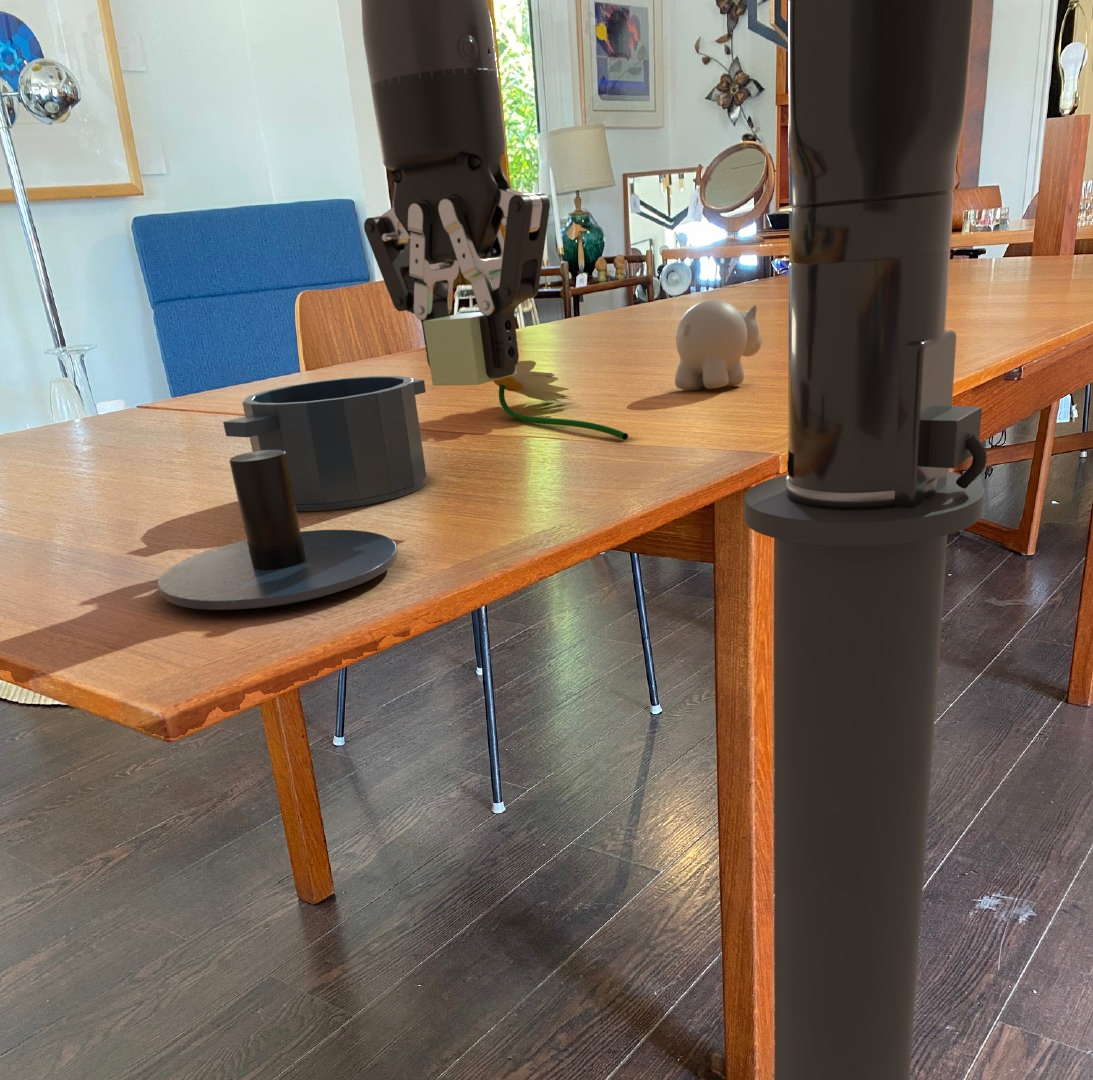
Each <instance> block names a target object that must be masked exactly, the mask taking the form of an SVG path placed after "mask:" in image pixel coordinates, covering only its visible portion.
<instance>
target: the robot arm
mask: <svg viewBox="0 0 1093 1080" xmlns="http://www.w3.org/2000/svg"><path fill="white" fill-rule="evenodd" d="M360 1H361V3H360V4H361V5H360V6H361V27H362V39H363V47H364V51H365V52H364V53H365V59H366V65H367V66H366V67H367V71H368V72H367V73H368V78H369V84H370V90H371V97H372V104H373V110H374V116H375V117H374V118H375V123H376V129H377V136H378V141H379V148H380V154H381V161H382V163H383V166H384V167H385V168H386V169H387V170H390V172H391V173H392V175H393V178H394V190H393V197H392V208H390V209H388V210H386V212H384V213H383V214H382V215H378V216H373V217H368V218H366V219H365V221H364V223H363V229H364V233H365V235H366V238H367V241H368V244H369V246H370V248H371V251H372V254H373V256H374V258H375V261H376V264H377V267H378V269H379V272H380V274H381V276H382V279H383V282H384V284H385V287H386V289H387V292H388V295H389V297H390V299H391V302H392V304H393V308H395V310H396V311H397V312H405V311H406V312H409V313H411V314H413V315H414V316H415V317H416V319H418V320H419V321H420V323H421V328H422V335H423V342H424V345H425V346H424V347H425V353H426V361H427V365H428V366H429V368H430V364H429V357H428V350H427V344H426V337H425V331H424V324H423V321H426V320H431V319H436V318H441V317H446V316H450V314H451V313H452V311H453V297H454V296H453V295H454V282H455V280H456V279H457V278H458V276H459V273H461V275H462V277H463V278H464V279H465V280H467V281H468V282H469V283H470V287H471V289H472V292H473V295H474V297H475V302H476V305H477V307H478V310H479V312H481V313H482V314H483V315H485V317H480V318H479V321H480V329H481V336H482V344H483V352H484V359H485V367H486V373H487V376H488V377H489V378H501V377H505V376H509V375H512V374H513V373H514V372H515V365H517V364H518V362H519V357H520V355H519V347H518V337H517V330H516V329H517V328H516V321H515V320H516V319H515V311H516V309H517V307H518V306H519V305H520V304H522V303H524V302H526V301H528V300H529V299H534V298H536V297H537V295H538V294H539V289H540V283H541V275H542V266H543V259H544V253H545V245H546V239H547V238H546V237H547V231H548V224H549V217H550V208H551V202H550V198H549V197H548V195H547V194H546V193H545V192H544V193H543V192H536V193H535V192H534V193H524V192H522V191H519V190H515V189H512V188H511V185H510V182H509V181H508V178H507V177H506V175H505V173H504V170H503V166H502V156H503V155H504V154H505V152H506V147H507V145H506V144H507V143H506V137H505V136H506V135H505V128H504V127H505V126H504V119H503V110H502V101H501V94H500V93H501V91H500V83H499V74H498V67H497V66H498V65H497V57H496V48H495V40H494V39H495V38H494V32H493V31H494V30H493V23H492V18H491V13H490V12H491V11H490V7H489V4H488V0H360ZM973 12H974V0H788V132H787V133H788V135H787V136H788V137H787V138H788V139H787V143H788V145H787V147H788V148H787V149H788V205H789V207H790V208H789V211H788V263H789V264H788V357H787V358H788V366H787V367H788V371H787V373H788V374H787V375H788V376H787V379H788V383H787V385H788V386H787V391H788V392H787V457H788V458H787V461H786V472H787V475H788V476H787V497H788V498H789V499H790V500H792V501H794V502H797V503H800V504H803V505H807V506H811V507H818V508H825V509H838V510H865V509H880V508H892V507H898V508H914V507H916V506H917V505H919V504H920V503H922V502H923V501H925V500H926V499H928V498H929V497H931V496H933V495H934V494H935V493H936V492H938V491H939V490H941V489H942V488H944V487H945V486H946V484H947V472H948V469H955V468H956V467H957V466H960V465H961V464H962V463H964V462H965V461H966V460H968V459H970V458H971V457H972V460H971V464H970V466H969V467H968V468H967V469H966V470H965V471H964V472H962V474H960V475H961V476H960V477H959V478H958V479H957V481H956V484H957V485H958V486H959V487H961V488H965V489H966V488H967V487H968V486H969V485H970V483H971V482H972V481H974V480H975V481H976V479H977V478H978V477H979V476H980V475H981V474H982V473H983V471H984V469H985V467H986V464H987V459H988V457H987V450H986V449H985V446H984V445H983V443H982V442H981V440H980V435H981V423H982V410H983V408H982V406H964V405H963V406H959V405H958V406H957V405H956V406H955V405H954V406H953V394H954V393H953V392H954V381H955V379H954V377H955V366H956V365H955V364H956V352H957V351H956V350H957V349H956V348H957V333H956V332H955V331H954V330H952V329H948V330H947V329H946V325H947V324H946V323H947V310H948V293H949V276H950V264H951V262H950V261H951V248H952V247H951V246H952V233H953V231H952V229H953V218H954V217H953V215H954V199H955V193H954V192H953V191H954V190H955V187H956V186H955V185H956V171H957V162H958V161H957V160H958V154H959V147H960V143H961V137H962V134H963V126H964V121H965V114H966V113H965V112H966V103H967V101H966V100H967V86H968V72H969V62H970V50H971V36H972V26H973V25H972V24H973V15H974V14H973ZM501 226H502V227H505V234H504V237H503V233H502V229H501ZM403 277H404V279H405V281H404V279H403ZM405 282H406V284H405ZM406 285H407V286H406ZM407 287H408V288H407Z"/></svg>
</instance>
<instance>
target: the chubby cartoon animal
mask: <svg viewBox="0 0 1093 1080" xmlns="http://www.w3.org/2000/svg"><path fill="white" fill-rule="evenodd" d="M757 307H758V306H757V304H755V305H753V306H751V307H750V308H749V309H748V311H741V310H740V311H739V310H738V308H736V307H735V306H733V304H730V303H728V302H727V301H724V300H719V299H708V300H703V301H701V302H698V303H696V304H694V305H693V306H691V307H689V309H688V310H687V311H686V312H684V314H683V316H682V318H680V321H679V323H678V326H677V329H676V333H675V345H676V350H677V353H678V355H679V359H680V360H679V363H678V366H677V369H676V372H675V375H674V376H675V377H674V385H675V387H676V388H677V389H680V390H687V391H689V390H690V391H693V390H696V389H698V388H699V387H704V388H706V389H709V390H712V389H714V390H715V389H720V388H723V387H732V386H733V387H734V386H739V385H741V384H742V383H743V382H744V379H745V372H744V367H743V365H742V361H741V358H742V357H745V358H746V357H752V356H755V355H757V353H758V352H759V351H760V349H761V347H762V341H763V340H762V338H761V335H760V333H761V332H760V324H759V321H758V319H757V317H756V314H757Z"/></svg>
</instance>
